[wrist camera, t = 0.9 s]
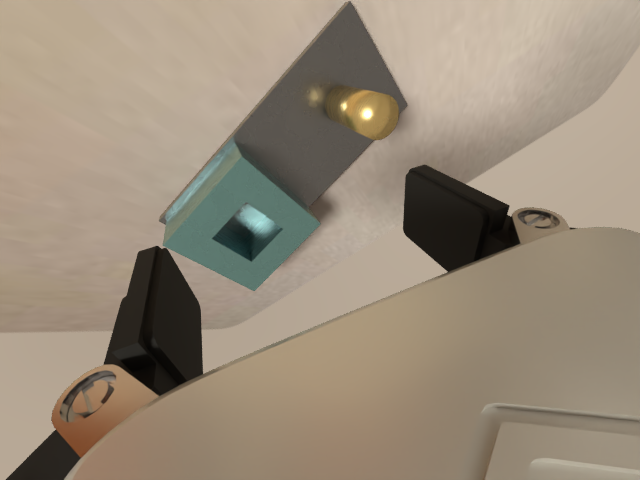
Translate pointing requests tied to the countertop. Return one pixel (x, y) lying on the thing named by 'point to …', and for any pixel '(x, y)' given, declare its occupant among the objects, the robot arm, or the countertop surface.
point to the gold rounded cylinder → (363, 111)
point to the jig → (278, 161)
